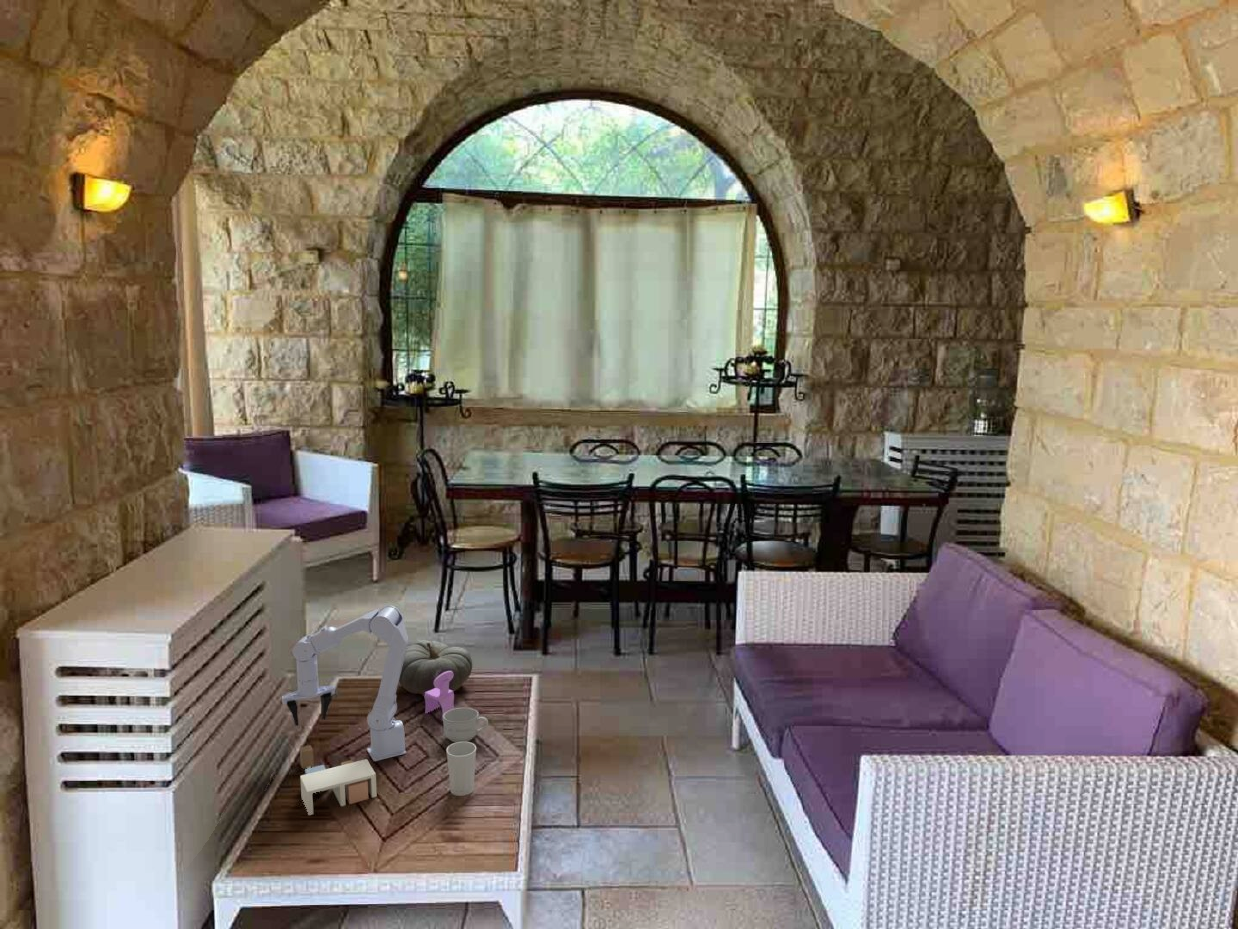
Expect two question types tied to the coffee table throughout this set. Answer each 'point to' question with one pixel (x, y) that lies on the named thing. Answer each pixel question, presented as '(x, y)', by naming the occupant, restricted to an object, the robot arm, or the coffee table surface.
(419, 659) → the gourd
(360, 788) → the tan block
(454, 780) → the cup
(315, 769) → the tan and blue dumbbell
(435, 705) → the toy chair
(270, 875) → the coffee table surface
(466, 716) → the teacup
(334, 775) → the shelf
